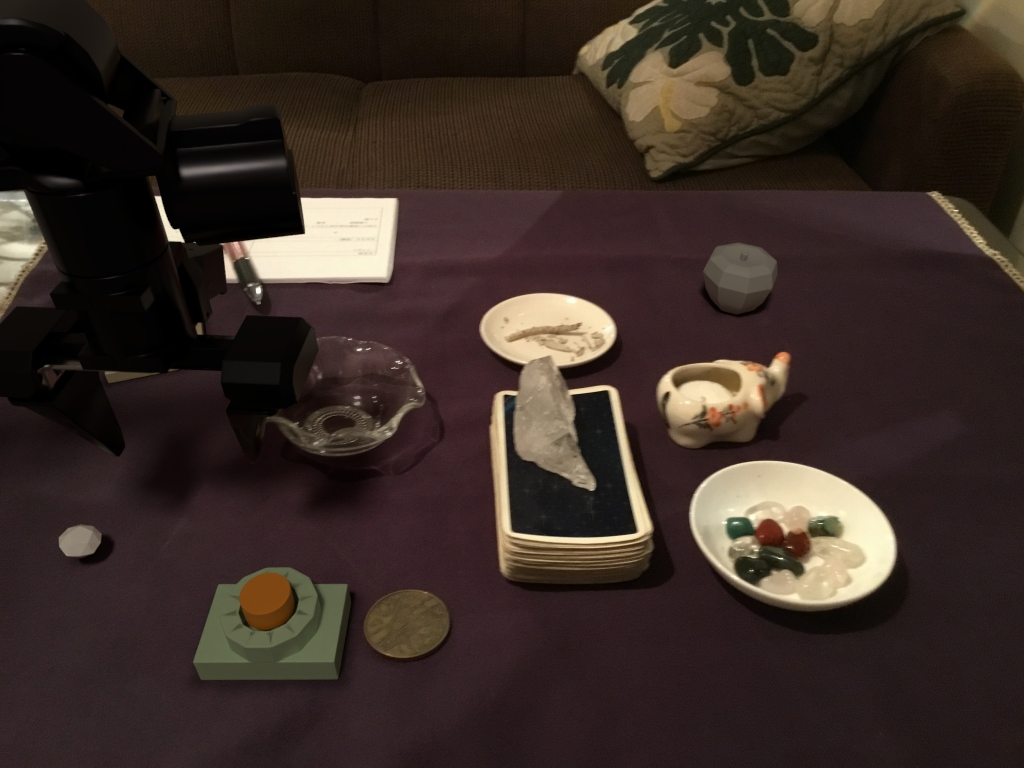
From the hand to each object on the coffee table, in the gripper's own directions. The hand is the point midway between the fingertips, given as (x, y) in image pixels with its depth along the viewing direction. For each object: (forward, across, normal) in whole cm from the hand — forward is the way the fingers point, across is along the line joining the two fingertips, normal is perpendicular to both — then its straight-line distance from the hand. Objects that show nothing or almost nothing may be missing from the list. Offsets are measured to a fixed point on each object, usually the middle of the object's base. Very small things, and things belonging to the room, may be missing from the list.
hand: (187, 455), depth 52 cm
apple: (+12, -44, -37) cm, 58 cm away
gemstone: (+11, +11, +1) cm, 15 cm away
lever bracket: (+11, +15, -24) cm, 30 cm away
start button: (+7, -6, +7) cm, 12 cm away
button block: (+11, -6, +7) cm, 14 cm away
